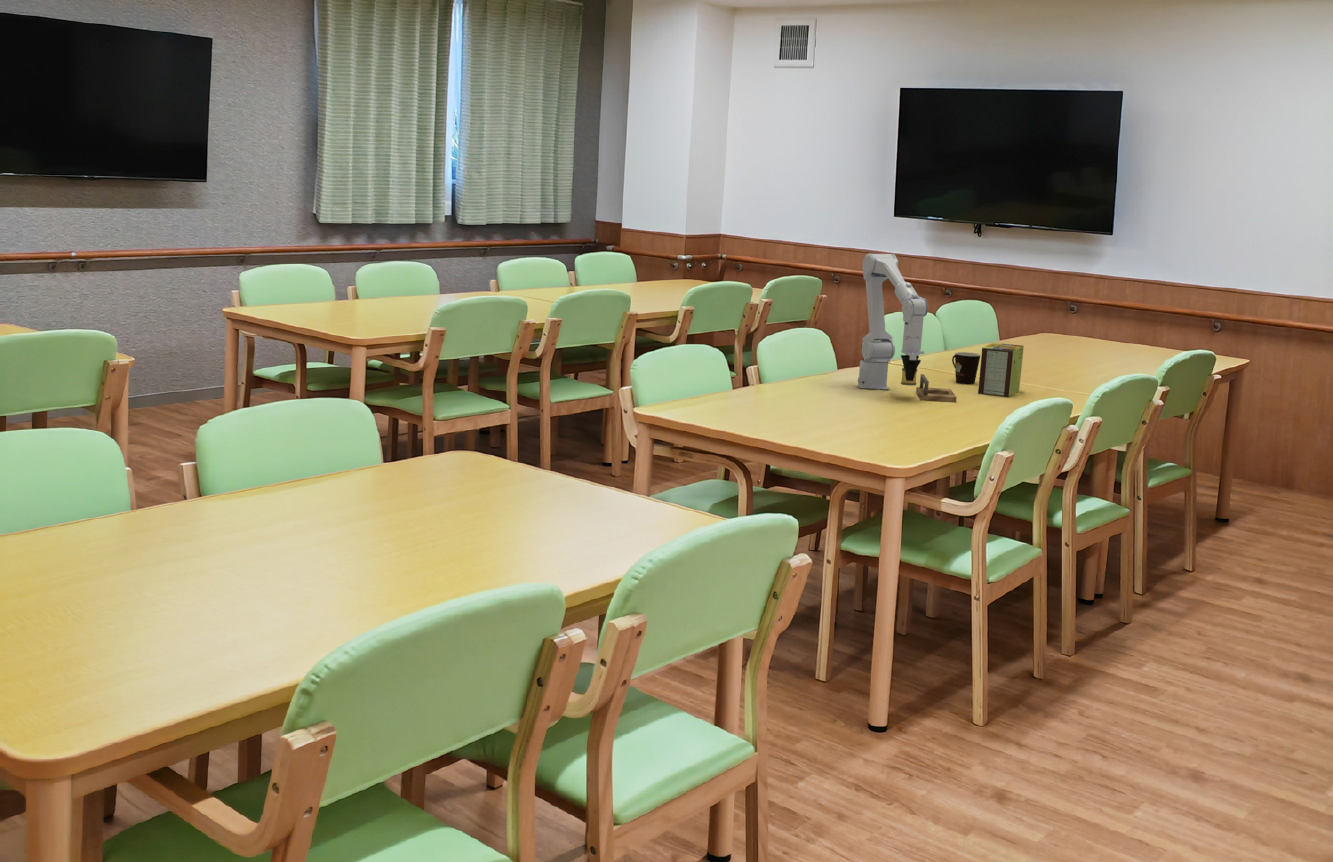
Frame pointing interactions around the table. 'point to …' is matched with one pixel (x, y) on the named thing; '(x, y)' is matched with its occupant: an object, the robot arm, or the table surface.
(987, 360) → the protein box
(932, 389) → the brown piece
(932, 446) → the table surface
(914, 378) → the cord reel
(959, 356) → the coffee mug
